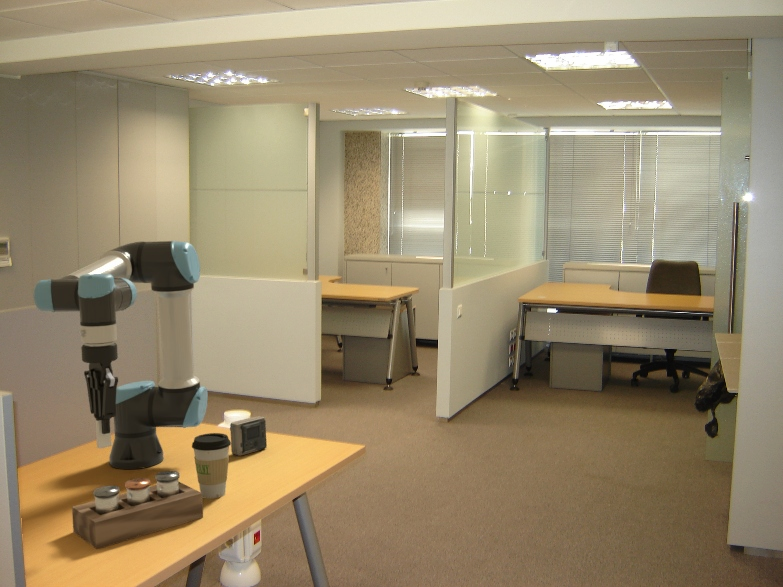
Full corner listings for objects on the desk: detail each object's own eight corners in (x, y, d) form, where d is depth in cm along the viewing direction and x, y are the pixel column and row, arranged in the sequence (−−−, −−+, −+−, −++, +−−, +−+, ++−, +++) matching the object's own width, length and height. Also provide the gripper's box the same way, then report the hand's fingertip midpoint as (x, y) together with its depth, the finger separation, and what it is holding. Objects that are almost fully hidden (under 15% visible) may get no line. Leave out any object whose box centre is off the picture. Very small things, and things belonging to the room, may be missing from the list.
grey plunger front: (90, 518, 184) (89, 489, 184) (114, 512, 188) (113, 483, 187) (100, 525, 180) (99, 495, 179) (124, 518, 184) (123, 489, 183)
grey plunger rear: (152, 502, 194) (151, 474, 194) (173, 496, 198) (172, 469, 197) (163, 508, 190) (162, 480, 190) (184, 502, 194) (183, 474, 193)
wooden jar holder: (73, 532, 186) (72, 506, 185) (176, 503, 203) (175, 480, 202) (96, 549, 176) (95, 522, 175) (203, 517, 193) (202, 493, 193)
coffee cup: (196, 488, 214) (194, 433, 212) (234, 486, 215) (232, 431, 213) (190, 501, 204) (188, 443, 203) (230, 500, 205) (228, 442, 203)
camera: (258, 445, 252) (257, 414, 251) (270, 449, 248) (269, 417, 247) (227, 454, 244) (226, 421, 243) (239, 458, 240) (238, 425, 239)
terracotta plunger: (122, 510, 189) (120, 481, 189) (144, 504, 193) (143, 476, 192) (132, 516, 185) (131, 487, 184) (155, 510, 189) (154, 482, 188)
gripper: (70, 342, 182) (76, 444, 185) (94, 348, 173) (100, 456, 175) (103, 338, 187) (108, 437, 190) (128, 344, 178) (132, 449, 180)
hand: (104, 446), depth 182 cm, fingers closed
